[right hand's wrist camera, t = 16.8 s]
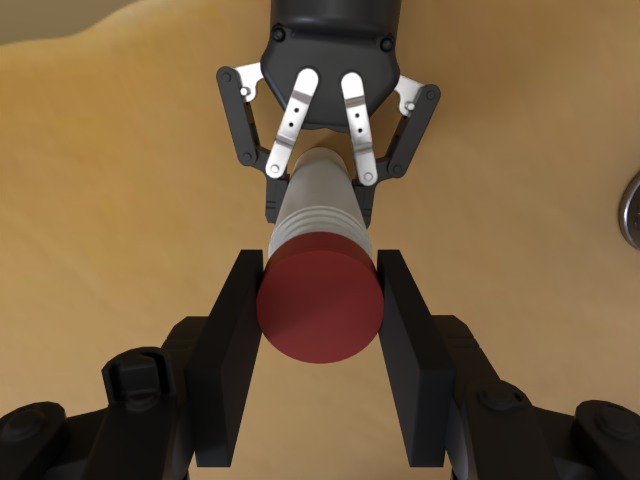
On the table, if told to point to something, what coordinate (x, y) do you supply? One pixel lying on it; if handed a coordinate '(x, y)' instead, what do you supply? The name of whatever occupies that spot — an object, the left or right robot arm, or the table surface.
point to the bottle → (320, 201)
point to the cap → (320, 298)
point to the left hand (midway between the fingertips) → (316, 230)
